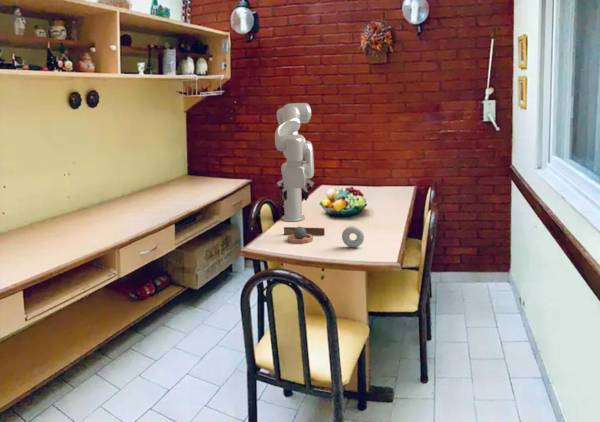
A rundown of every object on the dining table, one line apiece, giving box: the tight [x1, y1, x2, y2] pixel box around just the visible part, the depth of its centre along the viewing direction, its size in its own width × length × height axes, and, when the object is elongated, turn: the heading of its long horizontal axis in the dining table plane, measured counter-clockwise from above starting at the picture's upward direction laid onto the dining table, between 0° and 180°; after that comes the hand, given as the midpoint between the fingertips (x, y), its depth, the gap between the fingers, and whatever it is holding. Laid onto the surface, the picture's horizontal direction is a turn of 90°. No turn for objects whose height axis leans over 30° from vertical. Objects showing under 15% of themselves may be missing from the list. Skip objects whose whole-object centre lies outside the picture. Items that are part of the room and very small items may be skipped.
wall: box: [283, 226, 326, 237], centre depth 273 cm, size 1×20×4 cm, turn 79°
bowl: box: [287, 234, 314, 245], centre depth 263 cm, size 12×12×2 cm
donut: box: [341, 225, 365, 248], centre depth 249 cm, size 10×3×10 cm, turn 76°
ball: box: [294, 226, 306, 239], centre depth 263 cm, size 6×6×6 cm
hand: (295, 199), depth 262 cm, fingers open, 9 cm apart
